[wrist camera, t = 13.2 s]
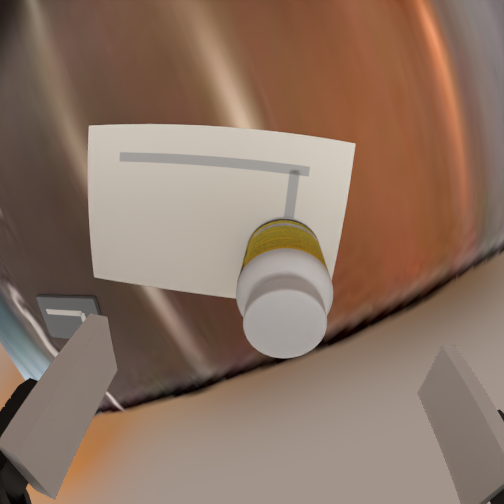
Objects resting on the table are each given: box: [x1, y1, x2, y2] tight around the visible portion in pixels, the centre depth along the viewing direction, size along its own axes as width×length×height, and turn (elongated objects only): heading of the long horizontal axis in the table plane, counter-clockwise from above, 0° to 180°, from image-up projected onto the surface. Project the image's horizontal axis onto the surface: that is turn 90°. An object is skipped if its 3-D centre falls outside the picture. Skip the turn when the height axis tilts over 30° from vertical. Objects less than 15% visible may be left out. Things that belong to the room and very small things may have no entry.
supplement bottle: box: [236, 217, 333, 358], centre depth 19 cm, size 5×5×10 cm
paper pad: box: [88, 124, 355, 298], centre depth 23 cm, size 20×13×1 cm, turn 84°
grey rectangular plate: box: [36, 295, 102, 339], centre depth 28 cm, size 8×5×1 cm, turn 94°
